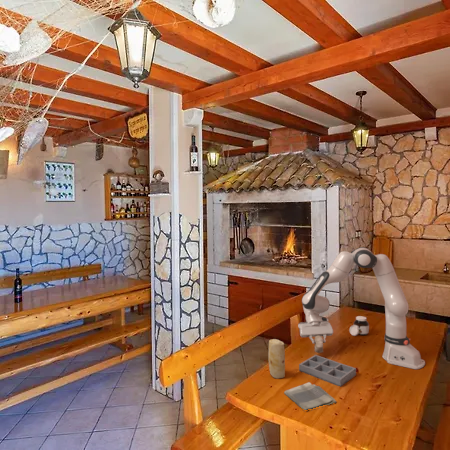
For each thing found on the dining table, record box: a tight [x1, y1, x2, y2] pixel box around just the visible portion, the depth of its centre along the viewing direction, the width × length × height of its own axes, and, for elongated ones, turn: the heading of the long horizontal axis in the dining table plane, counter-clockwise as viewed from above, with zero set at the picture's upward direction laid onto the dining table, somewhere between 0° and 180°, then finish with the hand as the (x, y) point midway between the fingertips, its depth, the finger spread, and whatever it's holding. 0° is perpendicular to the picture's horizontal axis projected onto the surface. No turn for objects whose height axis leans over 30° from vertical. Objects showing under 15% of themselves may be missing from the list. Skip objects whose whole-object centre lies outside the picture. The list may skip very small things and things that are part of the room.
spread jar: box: [348, 315, 370, 337], centre depth 253 cm, size 12×11×12 cm
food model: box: [267, 338, 286, 379], centre depth 196 cm, size 10×7×20 cm
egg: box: [314, 335, 324, 354], centre depth 218 cm, size 5×5×10 cm
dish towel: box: [283, 381, 337, 411], centre depth 174 cm, size 19×18×3 cm
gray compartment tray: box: [298, 354, 357, 388], centre depth 198 cm, size 25×17×4 cm
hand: (319, 342), depth 217 cm, fingers closed on egg, 5 cm apart
